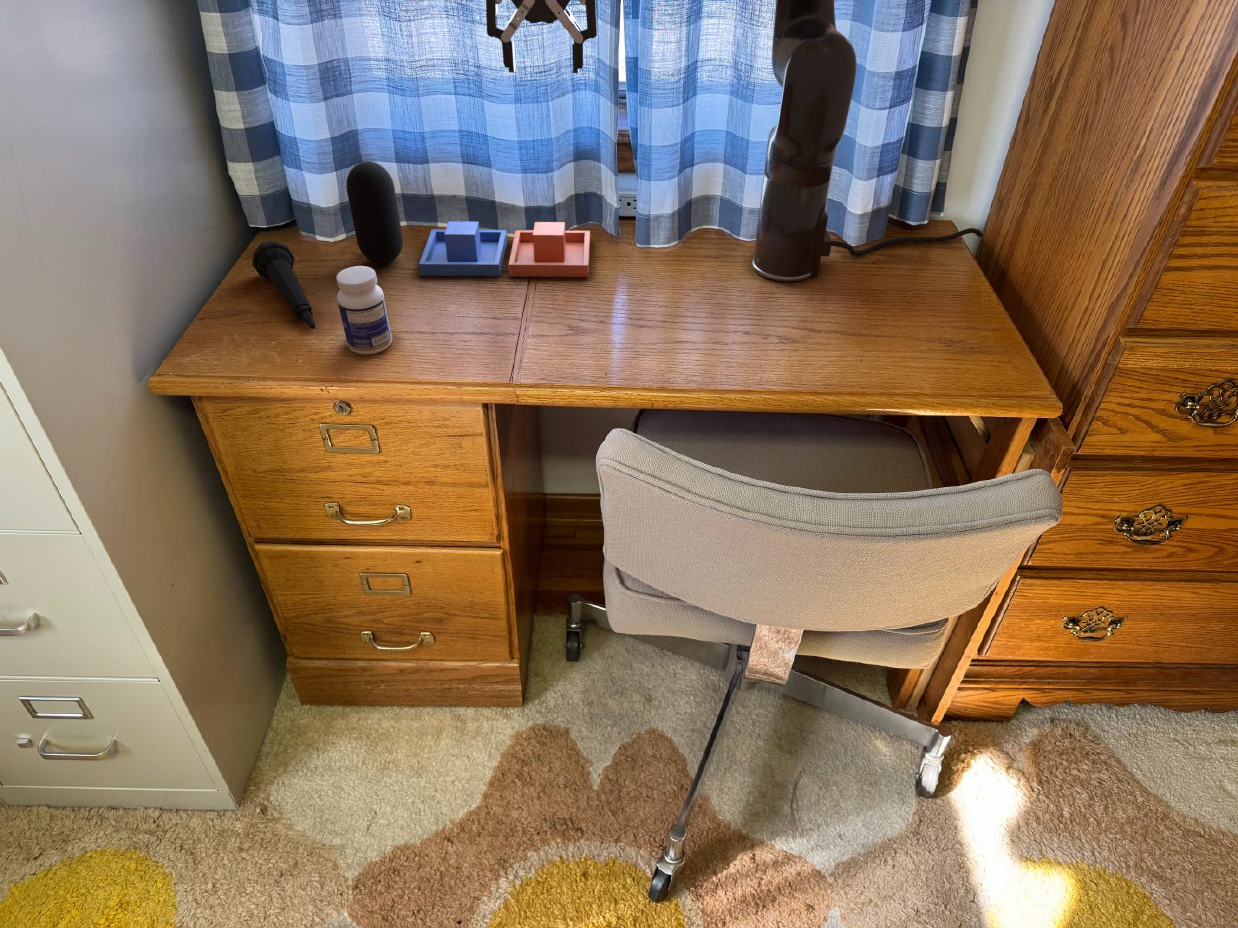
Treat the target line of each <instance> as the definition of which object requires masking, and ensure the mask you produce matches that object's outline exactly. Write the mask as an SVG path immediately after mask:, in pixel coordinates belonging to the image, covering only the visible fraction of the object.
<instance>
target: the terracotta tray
mask: <svg viewBox="0 0 1238 928" xmlns="http://www.w3.org/2000/svg"><path fill="white" fill-rule="evenodd" d="M533 231H534V229H530V230H529V229H528V230H526V229H524V230H523V229H520V230H519V229H516V230H514V236H513V239H512V241H513V242H512V246H511V251H510V256H509V261H508V265H507V266H508V276H509V277H527V278H528V277H533V278H535V277H538V278H539V277H541V278H543V277H545V278H547V277H548V278H555V277H556V278H589V274H590V273H589V270H590V253H591V230H565V244H566V251H565V262H564V263H534V248H533Z"/></svg>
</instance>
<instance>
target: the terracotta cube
mask: <svg viewBox="0 0 1238 928" xmlns="http://www.w3.org/2000/svg"><path fill="white" fill-rule="evenodd" d="M533 230H534V231H533V248H534V263H564V262H565V251H566V244H565V231H566V223H565V222H564V221H535V222H534V227H533Z"/></svg>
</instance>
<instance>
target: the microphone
mask: <svg viewBox="0 0 1238 928" xmlns="http://www.w3.org/2000/svg"><path fill="white" fill-rule="evenodd" d="M294 262H295V257H294V254H293V253H292V252H291V250H290V249H289V247H288V245H286V244H283V243H281V242H278V241H272V240H268V241H264V242H261V243H259V245H258V246H257V247H256V248H255V249H254V252H253V253H252V262H251V265H252V267H253V268H254V270H255V271H256V273H257V274H258V275H259V277H261V278H265V279H267V280H270V281H271V282H272V283H273V285H274V286H275V288H276V289H277V290H278V292H279V293H280V295H281V296H282V297H283V299H284V301H285V302H286V303H287V304H288V306H289V307H290V308H291V310H292V311H293V312H294V314H295V315H296V317H298V318H299V319H300V320H301V321H303V322H304V323H305V324H306V325H307V326H308V327H309V328H310V329H312V330H314V329H315V328H316V324H315V320H314V317H313V312H312V309H313V308H312V306H311V304H310V302H309V300H308V298H307V296H306V293H305V291H304V290H303V288H302V285H301V284H300V282H299V280H298V278H297V275H296V273H295V272H294V270H293V269H294Z"/></svg>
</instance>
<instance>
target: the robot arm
mask: <svg viewBox="0 0 1238 928" xmlns="http://www.w3.org/2000/svg"><path fill="white" fill-rule="evenodd" d="M510 1H511V3H512V4H513V6H514V7H515V9H516V10H515V11H514V12H513V14H512V16H511V17H510V19H509V21H508V22H507V24H506V25H505V27H504V26H501V25H499V5H500V4H502V2H503V0H485V11H486V34H487V35H488V37H489V38H495V39H498V40H499V41H500V43H501V50H502V64H503V65H504V68H505V69H506V68H507V69H508V73H515V72H516V54H515V39H514V38H513V36H514V35H515V34H516V31H517V30H518V29H519V27H520V26H521V24H522V23H523V21H524V20H525V21H526V22H528V23H529V24H539V23H545V24H555V22H557V21H559V23H560V24H561V26H562V27H563V29H565V31H567V33H568V35H569V36H570V37H571V38H572V44H571V46H572V47H571V48H572V49H571V50H572V74H579V72H580V71H579V70H582V69H583V67H584V63H585V62H584V60H585V59H584V43H585V42H586V41H588V40H589V39H595V38H596V37H597V35H598V19H597V5H596V3H597V1H596V0H578V1H579V3H580V5H582V6H585V16H586V26H585V27H584V26H583V27H581V26H580V25H579V23H578V22H577V20H576V19H575V17H574V15H573V14H572V12H571V10H570V9H569V8H568V7H569V5H570V3H571V1H572V0H510ZM772 33H773V34H772V42H771V43H772V45H771V69H772V72H773V75H774V78H775V79H776V81H777V83H778V84H779V86H780V87H781V88H782V93H781V101H780V108H779V113H778V120H777V123H776V125H774V126H773V127H772V128H771V129H770V131H769V133H768V137H767V144H766V154H765V160H764V161H765V163H764V168H763V169H764V170H763V178H762V187H761V194H760V203H759V210H758V218H757V227H756V235H755V241H754V250H753V256H752V262H751V266H752V269H753V270H754V272H755V273H757V274H758V275H759V276H761V277H763V278H766V279H769V280H772V281H777V282H785V283H788V282H789V283H791V282H801V281H804V280H808V279H810V278H817V277H818V276H819V271H820V265H821V258H822V257H830V256H831V251H832V250H831V249H832V247H838V248H842V249H846V250H847V251H848V252H849V254H850V255H851V256H854V257H860V256H863V255H867V254H869V253H872V252H875V251H876V250H878V249H881V248H882V247H883V248H884V247H886V246H889V245H895V244H903V243H939V242H940V243H941V242H949V241H951V240H955V239H958V238H959V237H962V236H965V235H968V234H974V235H976V236H977V237H978V238H984V234H983V232H982V231H981V230H979V229H978V228H974V227H969V228H965V229H961V230H959V231H957V232H955V233H952V234H948V235H941V236H904V237H894V238H889V239H885V240H882V241H879V242H877V243H875V244H873V245H871V246H869V247H867V248H864V249H860V250H859V249H858V250H855V248H854V247H853V246H852V245H851V244H849V243H847V242H844V241H838V240H832V239H831V237H830V235H829V232H828V229H827V226H828V221H829V214H828V212H827V210H826V207H827V201H828V196H829V190H830V185H831V180H832V179H831V178H832V173H833V167H834V160H835V156H836V151H837V147H838V144H839V143H840V141H841V139H842V138H843V135H844V133H845V129H846V125H847V122H848V116H849V112H850V108H851V103H852V98H853V93H854V88H855V83H856V76H857V63H858V61H857V55H856V51H855V48H854V45H852V42H850V40H849V39H848V38H847V37H846V36H845V35H843V34H842V33H841V32H840V31H838V29H837V24H836V11H835V0H775V11H774V22H773V32H772Z"/></svg>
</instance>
